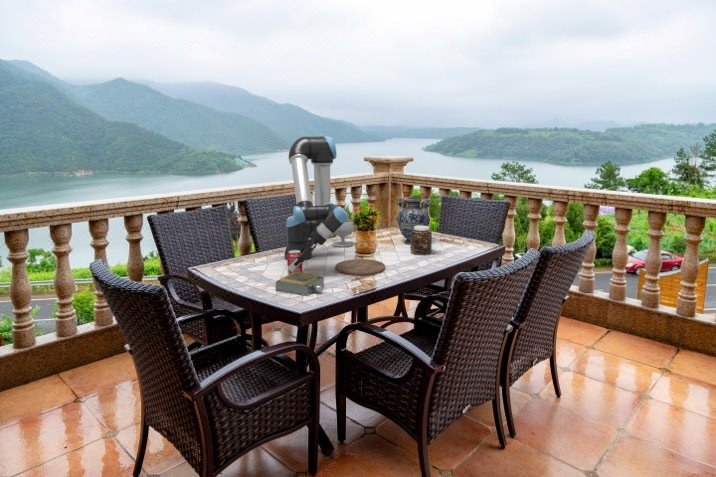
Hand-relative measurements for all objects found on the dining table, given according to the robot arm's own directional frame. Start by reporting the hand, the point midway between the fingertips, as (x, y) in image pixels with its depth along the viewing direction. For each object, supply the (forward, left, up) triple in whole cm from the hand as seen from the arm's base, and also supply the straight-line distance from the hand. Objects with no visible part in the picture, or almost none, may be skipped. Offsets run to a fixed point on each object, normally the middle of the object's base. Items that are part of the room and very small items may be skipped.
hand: (290, 265), depth 225 cm
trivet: (+25, +25, -6) cm, 36 cm away
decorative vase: (+31, +90, -5) cm, 95 cm away
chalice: (-6, +67, -5) cm, 68 cm away
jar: (+43, +68, -5) cm, 81 cm away
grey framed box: (+16, -14, -5) cm, 22 cm away
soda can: (+2, +1, -5) cm, 6 cm away
